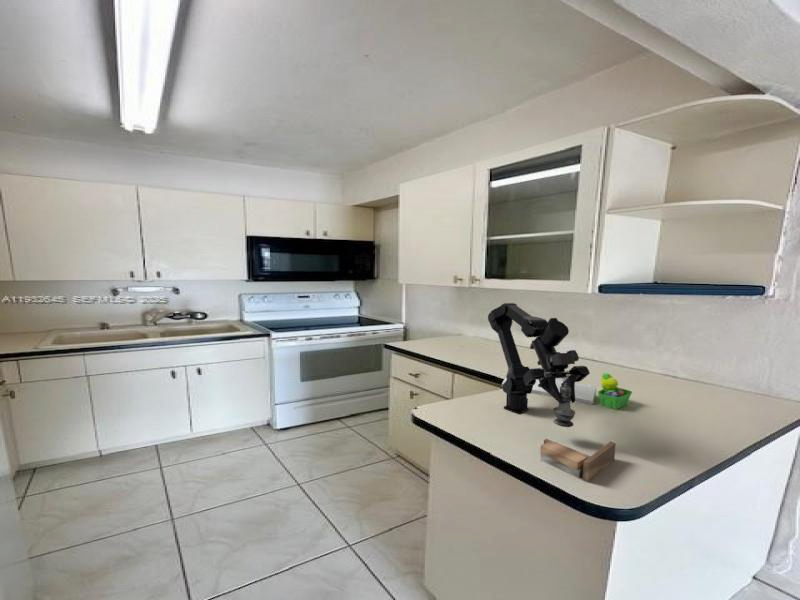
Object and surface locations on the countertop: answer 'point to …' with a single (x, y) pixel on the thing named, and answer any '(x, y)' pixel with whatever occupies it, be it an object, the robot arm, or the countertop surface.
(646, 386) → the countertop surface
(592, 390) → the decorative molding
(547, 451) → the teak offcut
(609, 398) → the fruit basket
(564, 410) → the grey rounded upright piece
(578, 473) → the grey mdf offcut
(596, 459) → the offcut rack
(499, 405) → the countertop surface
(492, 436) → the countertop surface
